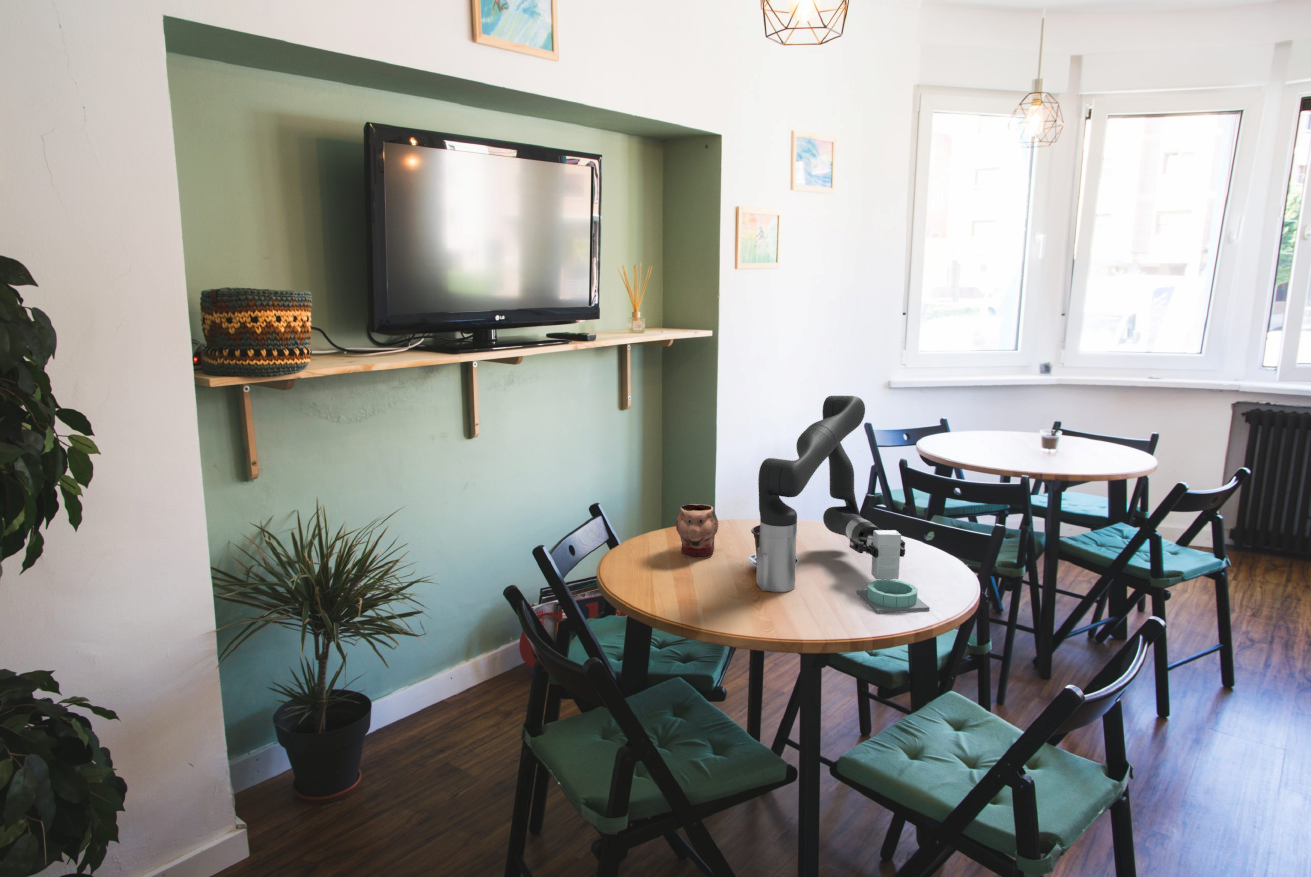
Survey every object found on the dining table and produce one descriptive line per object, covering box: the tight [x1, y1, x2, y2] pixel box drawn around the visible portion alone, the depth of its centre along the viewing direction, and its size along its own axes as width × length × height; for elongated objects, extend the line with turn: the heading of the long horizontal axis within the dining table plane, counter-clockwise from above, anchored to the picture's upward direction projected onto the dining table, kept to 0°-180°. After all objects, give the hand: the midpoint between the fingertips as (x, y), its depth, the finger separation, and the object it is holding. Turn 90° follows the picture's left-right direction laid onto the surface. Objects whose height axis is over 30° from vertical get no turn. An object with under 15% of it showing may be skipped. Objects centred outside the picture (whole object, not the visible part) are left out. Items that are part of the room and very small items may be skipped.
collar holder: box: [855, 579, 931, 614], centre depth 196 cm, size 13×13×4 cm
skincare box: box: [871, 529, 902, 580], centre depth 206 cm, size 6×4×12 cm
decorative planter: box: [675, 503, 719, 559], centre depth 232 cm, size 20×12×14 cm, turn 179°
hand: (890, 553), depth 203 cm, fingers closed on skincare box, 6 cm apart
